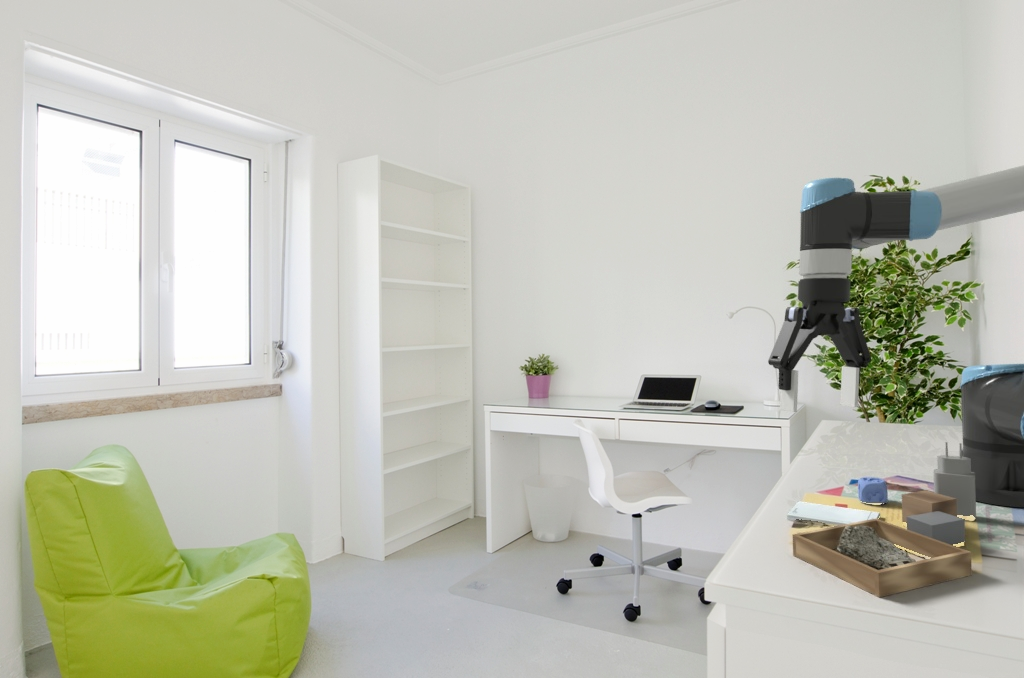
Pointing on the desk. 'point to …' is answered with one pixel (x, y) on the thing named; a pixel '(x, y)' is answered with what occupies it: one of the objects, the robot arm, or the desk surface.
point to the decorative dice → (872, 490)
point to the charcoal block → (938, 526)
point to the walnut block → (927, 504)
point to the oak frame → (888, 581)
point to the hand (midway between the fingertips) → (819, 408)
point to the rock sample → (871, 548)
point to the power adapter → (956, 481)
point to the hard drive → (829, 514)
